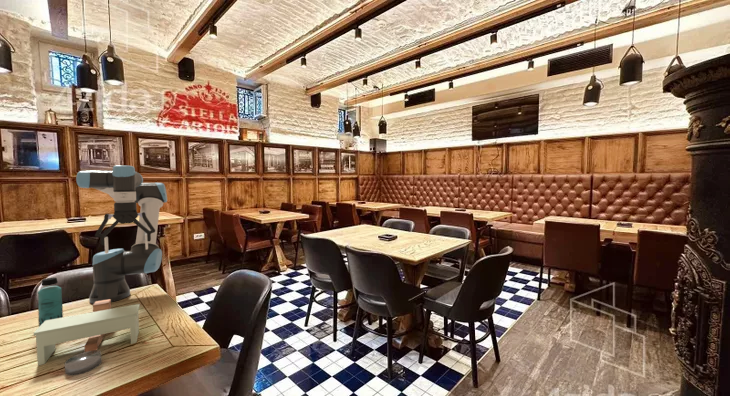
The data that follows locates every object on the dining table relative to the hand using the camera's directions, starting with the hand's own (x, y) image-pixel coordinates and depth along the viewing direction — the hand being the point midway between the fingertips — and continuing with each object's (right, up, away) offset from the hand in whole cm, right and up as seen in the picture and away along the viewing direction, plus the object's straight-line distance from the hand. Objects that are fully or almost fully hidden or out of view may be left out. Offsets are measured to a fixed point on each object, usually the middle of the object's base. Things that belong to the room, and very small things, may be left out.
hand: (127, 250), depth 128 cm
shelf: (+10, -28, -27) cm, 40 cm away
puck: (+17, -29, -38) cm, 51 cm away
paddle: (+6, -28, -21) cm, 35 cm away
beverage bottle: (-17, -28, -15) cm, 36 cm away
